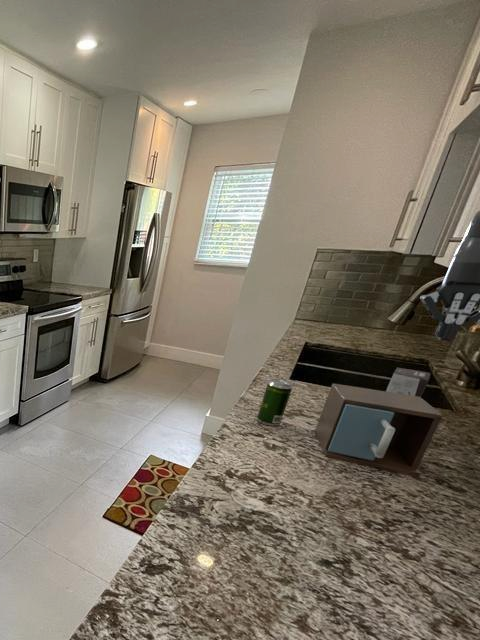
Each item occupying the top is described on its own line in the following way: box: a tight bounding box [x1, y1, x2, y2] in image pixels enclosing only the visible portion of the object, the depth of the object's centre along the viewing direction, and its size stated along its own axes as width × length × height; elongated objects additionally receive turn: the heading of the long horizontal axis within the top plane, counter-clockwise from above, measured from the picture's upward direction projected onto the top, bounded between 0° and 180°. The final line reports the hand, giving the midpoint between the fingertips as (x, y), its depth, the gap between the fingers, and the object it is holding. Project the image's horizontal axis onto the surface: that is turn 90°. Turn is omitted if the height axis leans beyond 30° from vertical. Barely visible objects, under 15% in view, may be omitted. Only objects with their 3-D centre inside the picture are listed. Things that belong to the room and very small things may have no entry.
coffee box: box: [385, 367, 431, 398], centre depth 108 cm, size 9×6×16 cm
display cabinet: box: [313, 383, 444, 478], centre depth 95 cm, size 16×14×14 cm
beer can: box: [257, 378, 293, 427], centre depth 111 cm, size 5×5×12 cm
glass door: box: [328, 404, 395, 461], centre depth 90 cm, size 8×6×12 cm
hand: (443, 339), depth 93 cm, fingers closed
